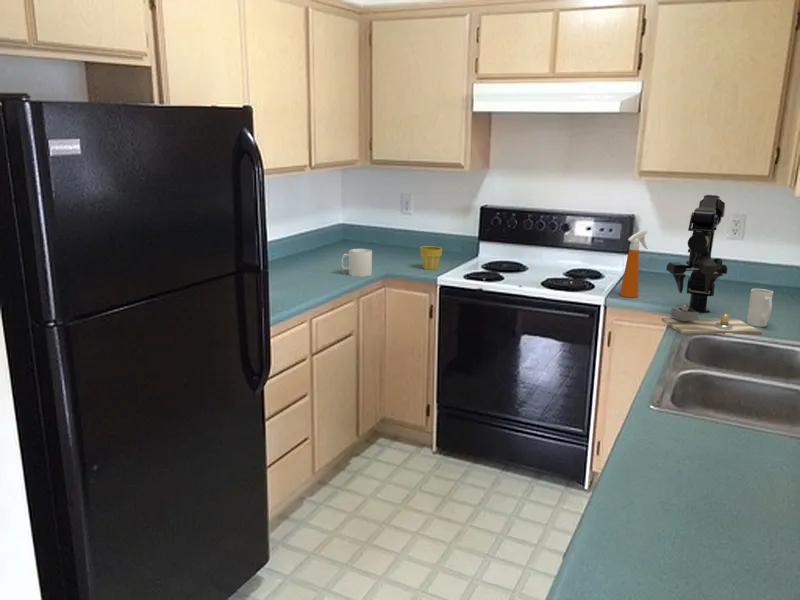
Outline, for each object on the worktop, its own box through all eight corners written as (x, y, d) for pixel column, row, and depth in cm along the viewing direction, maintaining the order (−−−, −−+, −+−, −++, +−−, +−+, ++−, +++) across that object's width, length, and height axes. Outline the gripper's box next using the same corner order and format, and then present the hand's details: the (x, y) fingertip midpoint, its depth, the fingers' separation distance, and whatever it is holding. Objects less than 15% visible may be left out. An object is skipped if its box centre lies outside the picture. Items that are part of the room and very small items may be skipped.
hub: (712, 325, 222) (714, 312, 221) (727, 325, 223) (729, 312, 222) (720, 329, 217) (722, 316, 216) (735, 329, 218) (737, 316, 217)
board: (661, 320, 230) (662, 318, 230) (736, 321, 231) (736, 318, 231) (681, 333, 215) (681, 330, 215) (761, 334, 217) (761, 331, 217)
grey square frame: (670, 315, 230) (671, 306, 229) (688, 315, 230) (689, 307, 229) (679, 320, 224) (680, 311, 223) (697, 320, 224) (698, 312, 223)
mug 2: (741, 321, 232) (747, 288, 229) (760, 321, 232) (766, 288, 229) (757, 329, 222) (763, 295, 219) (777, 330, 222) (783, 295, 219)
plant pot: (445, 267, 311) (446, 247, 309) (434, 271, 303) (435, 250, 300) (426, 265, 316) (427, 245, 314) (415, 268, 308) (415, 247, 306)
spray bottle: (648, 296, 265) (656, 231, 259) (628, 298, 261) (636, 232, 254) (635, 292, 271) (642, 228, 265) (615, 294, 267) (622, 230, 260)
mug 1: (341, 276, 288) (341, 252, 285) (341, 271, 298) (341, 248, 295) (372, 276, 289) (372, 252, 286) (371, 271, 299) (371, 248, 296)
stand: (674, 318, 229) (676, 303, 228) (686, 318, 229) (688, 303, 228) (680, 322, 225) (682, 306, 224) (692, 322, 225) (694, 306, 224)
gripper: (685, 251, 211) (678, 298, 215) (740, 252, 213) (733, 298, 217) (668, 245, 222) (662, 290, 226) (721, 246, 223) (714, 290, 227)
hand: (693, 292), depth 224 cm, fingers open, 9 cm apart
